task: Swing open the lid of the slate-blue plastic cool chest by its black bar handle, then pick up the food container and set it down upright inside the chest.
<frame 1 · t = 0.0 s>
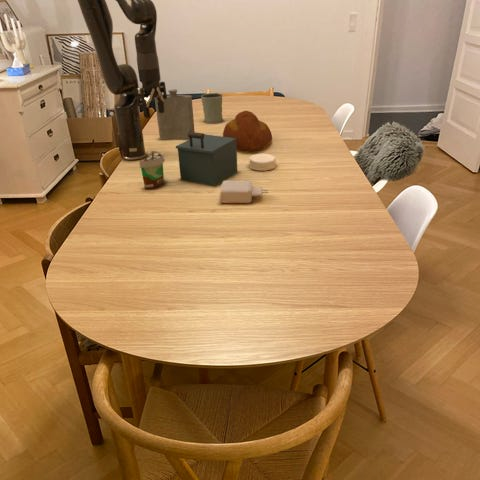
hand: (154, 115, 176), 17 cm above the table, tool pointing down, fingers open, 8 cm apart
hip flask: (177, 138, 211), on the table
grey green cylindrical pot: (213, 121, 234), on the table
lid: (206, 136, 162), point 14 cm above the table, hinge at 0.0°
cool chest: (209, 176, 171), on the table
white round disc: (262, 167, 178), on the table
bread: (247, 143, 203), on the table
food container: (158, 185, 166), on the table
charger: (245, 199, 153), on the table
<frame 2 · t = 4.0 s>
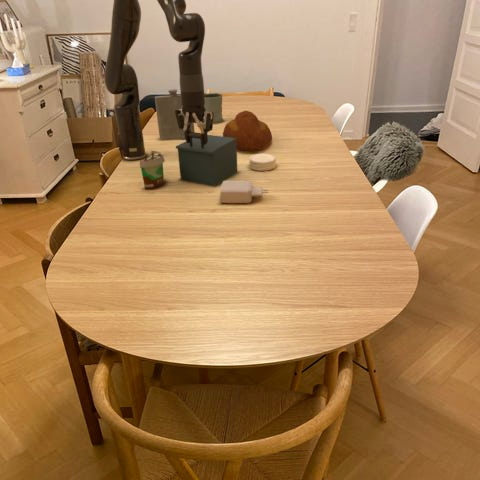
hand: (196, 143, 159), 13 cm above the table, tool pointing down, fingers closed on lid, 5 cm apart
lid: (206, 136, 162), point 14 cm above the table, hinge at -0.1°, touching gripper
everything else where it was.
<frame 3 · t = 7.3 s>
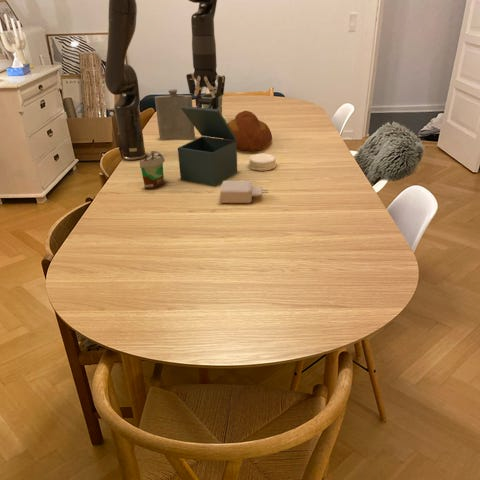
hand: (207, 108, 159), 23 cm above the table, tool pointing down, fingers closed on lid, 5 cm apart
lid: (211, 117, 162), point 19 cm above the table, hinge at 46.5°, touching gripper
everything else where it was.
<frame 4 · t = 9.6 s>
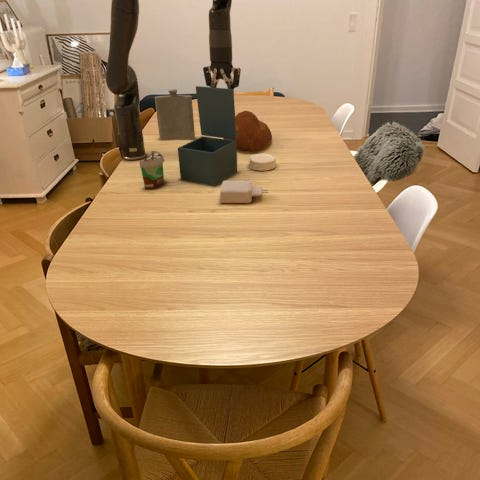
hand: (222, 100, 165), 23 cm above the table, tool pointing down, fingers closed on lid, 5 cm apart
lid: (220, 111, 166), point 20 cm above the table, hinge at 85.4°, touching gripper
everything else where it was.
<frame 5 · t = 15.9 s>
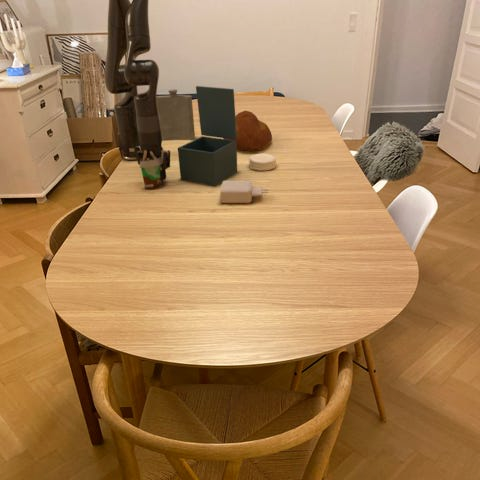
hand: (155, 178, 165), 2 cm above the table, tool pointing down, fingers closed on food container, 5 cm apart
lid: (220, 111, 166), point 20 cm above the table, hinge at 85.9°
food container: (158, 185, 166), on the table, touching gripper
everything else where it was.
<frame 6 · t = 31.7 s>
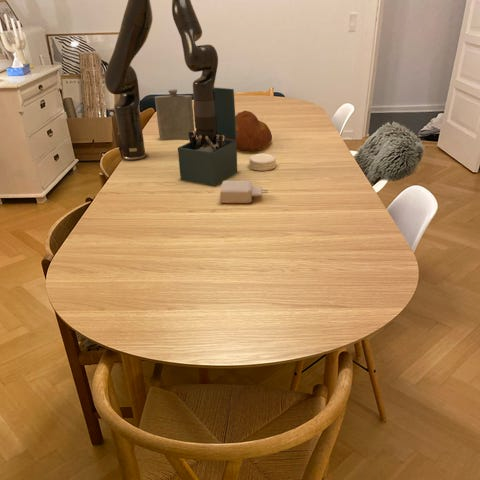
hand: (208, 162, 168), 5 cm above the table, tool pointing down, fingers closed on food container, 6 cm apart
food container: (212, 173, 170), point 1 cm above the table, touching gripper
everything else where it was.
when the fingers open (6 cm above the table, at t = 33.0 s): food container moves 1 cm, resting on cool chest.
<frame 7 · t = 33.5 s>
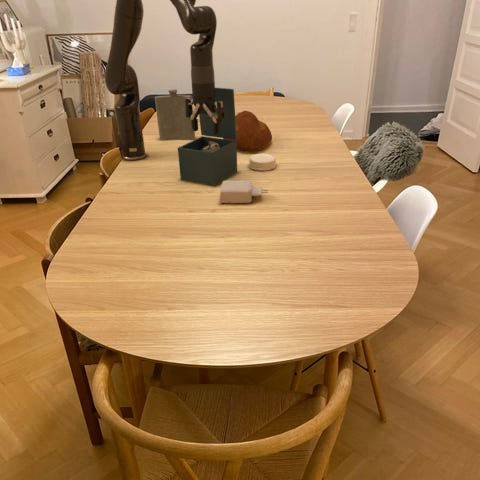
hand: (206, 132, 162), 15 cm above the table, tool pointing down, fingers open, 8 cm apart
food container: (212, 175, 170), point 1 cm above the table, touching cool chest
everything else where it was.
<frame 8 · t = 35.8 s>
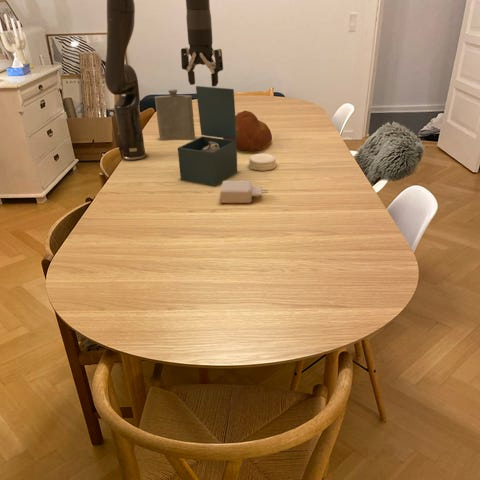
hand: (203, 85, 153), 30 cm above the table, tool pointing down, fingers open, 8 cm apart
nothing on the table moved.
at the end: lid at +86° (first picture: +0°); food container inside the target area in the cool chest (1.4 cm from its centre), point 0.6 cm above the cool chest's base; food container tilted 0° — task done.
